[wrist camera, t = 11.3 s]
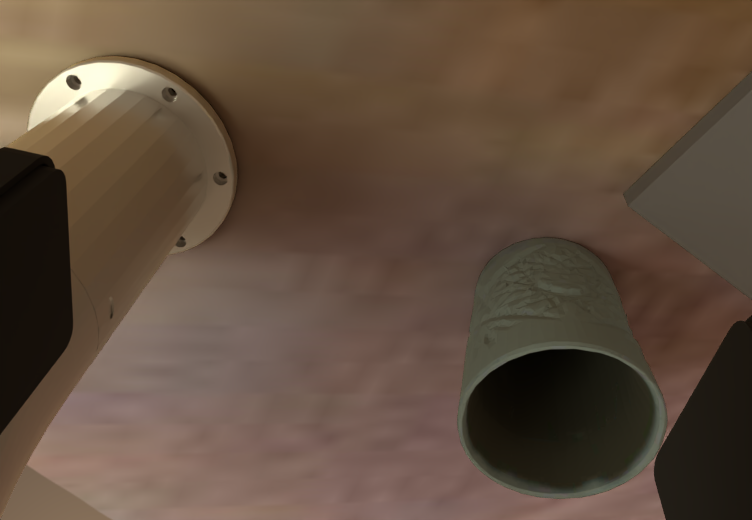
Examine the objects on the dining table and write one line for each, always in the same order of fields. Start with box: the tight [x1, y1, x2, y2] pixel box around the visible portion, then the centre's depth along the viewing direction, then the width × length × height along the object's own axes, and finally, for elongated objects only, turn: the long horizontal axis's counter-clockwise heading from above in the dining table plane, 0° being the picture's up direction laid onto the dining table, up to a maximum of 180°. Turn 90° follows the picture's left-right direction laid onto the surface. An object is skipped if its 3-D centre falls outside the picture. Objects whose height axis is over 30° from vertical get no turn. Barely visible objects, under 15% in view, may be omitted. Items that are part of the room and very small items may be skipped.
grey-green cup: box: [457, 238, 667, 499], centre depth 40 cm, size 10×10×12 cm
